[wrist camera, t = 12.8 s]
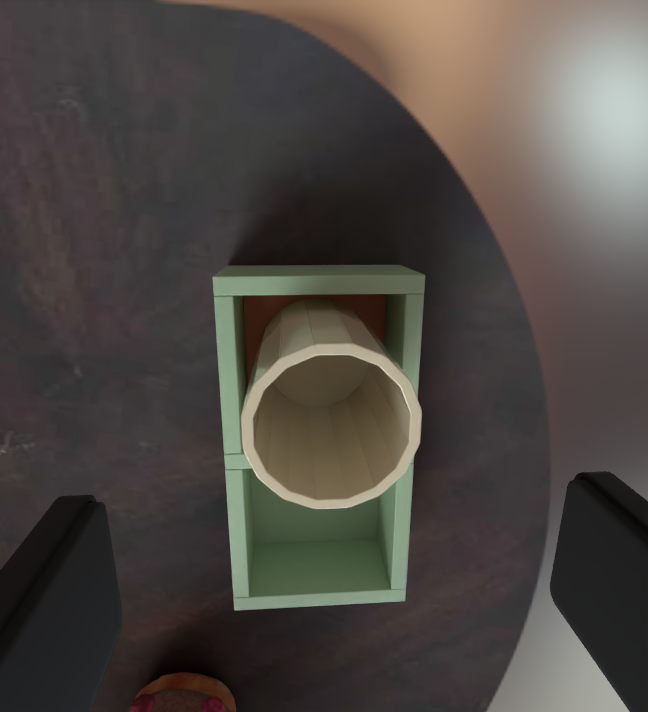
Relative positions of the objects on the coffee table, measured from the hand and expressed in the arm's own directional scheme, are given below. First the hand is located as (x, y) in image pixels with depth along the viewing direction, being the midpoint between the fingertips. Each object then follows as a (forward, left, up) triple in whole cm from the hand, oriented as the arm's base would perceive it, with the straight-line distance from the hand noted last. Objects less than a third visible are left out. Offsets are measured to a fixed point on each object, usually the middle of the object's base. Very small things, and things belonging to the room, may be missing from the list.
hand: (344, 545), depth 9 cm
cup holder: (+4, 0, -16) cm, 17 cm away
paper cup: (0, 0, -15) cm, 15 cm away
